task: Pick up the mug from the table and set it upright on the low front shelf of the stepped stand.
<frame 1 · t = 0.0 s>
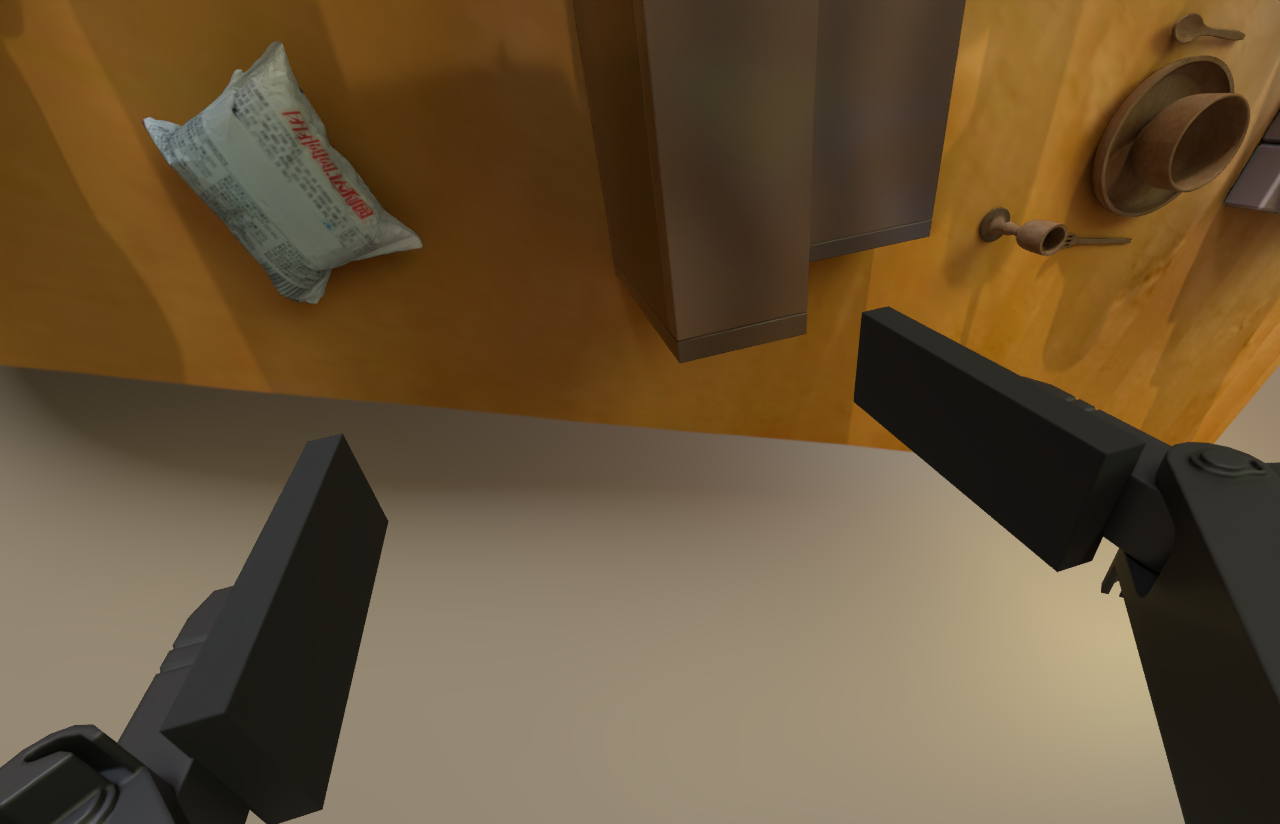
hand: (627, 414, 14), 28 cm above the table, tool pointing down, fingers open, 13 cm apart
packaged food: (309, 181, 33), on the table
place setting: (1105, 141, 45), on the table
stepped stand: (747, 36, 35), on the table
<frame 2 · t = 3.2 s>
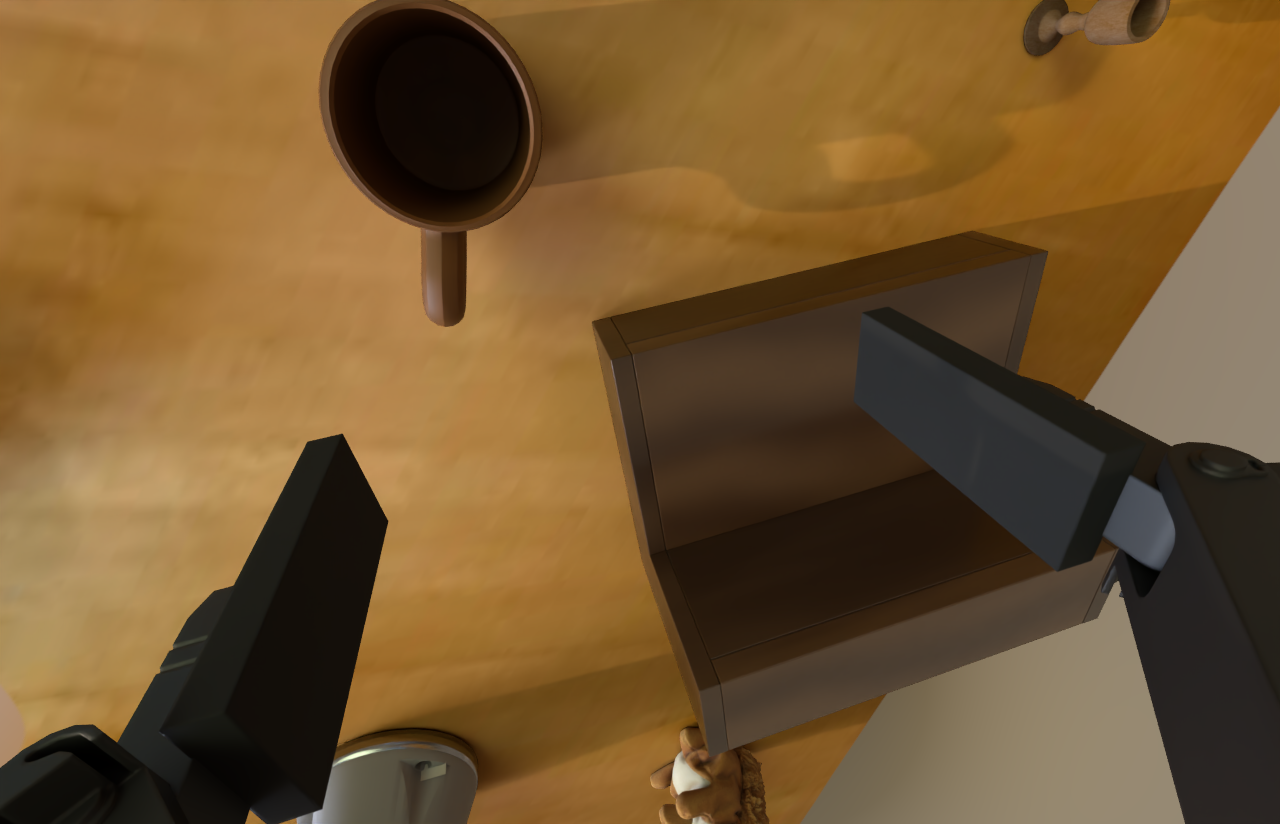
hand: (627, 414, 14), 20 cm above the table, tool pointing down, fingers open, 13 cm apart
mug: (451, 165, 28), on the table
stuffed squirrel: (704, 752, 64), on the table
stepped stand: (791, 412, 41), on the table
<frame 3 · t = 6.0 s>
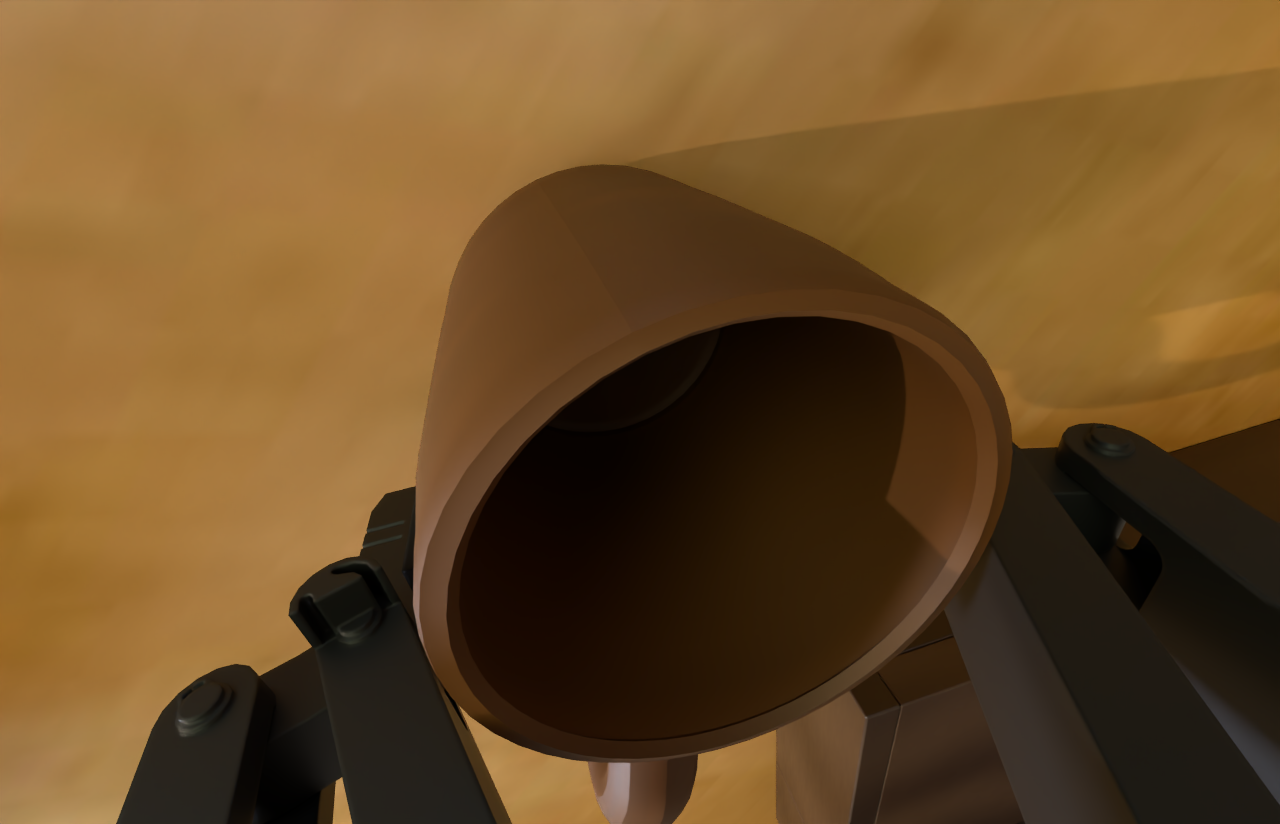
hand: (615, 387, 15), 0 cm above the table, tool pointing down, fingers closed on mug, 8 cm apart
mug: (590, 386, 15), on the table, touching gripper
stepped stand: (1008, 639, 29), on the table
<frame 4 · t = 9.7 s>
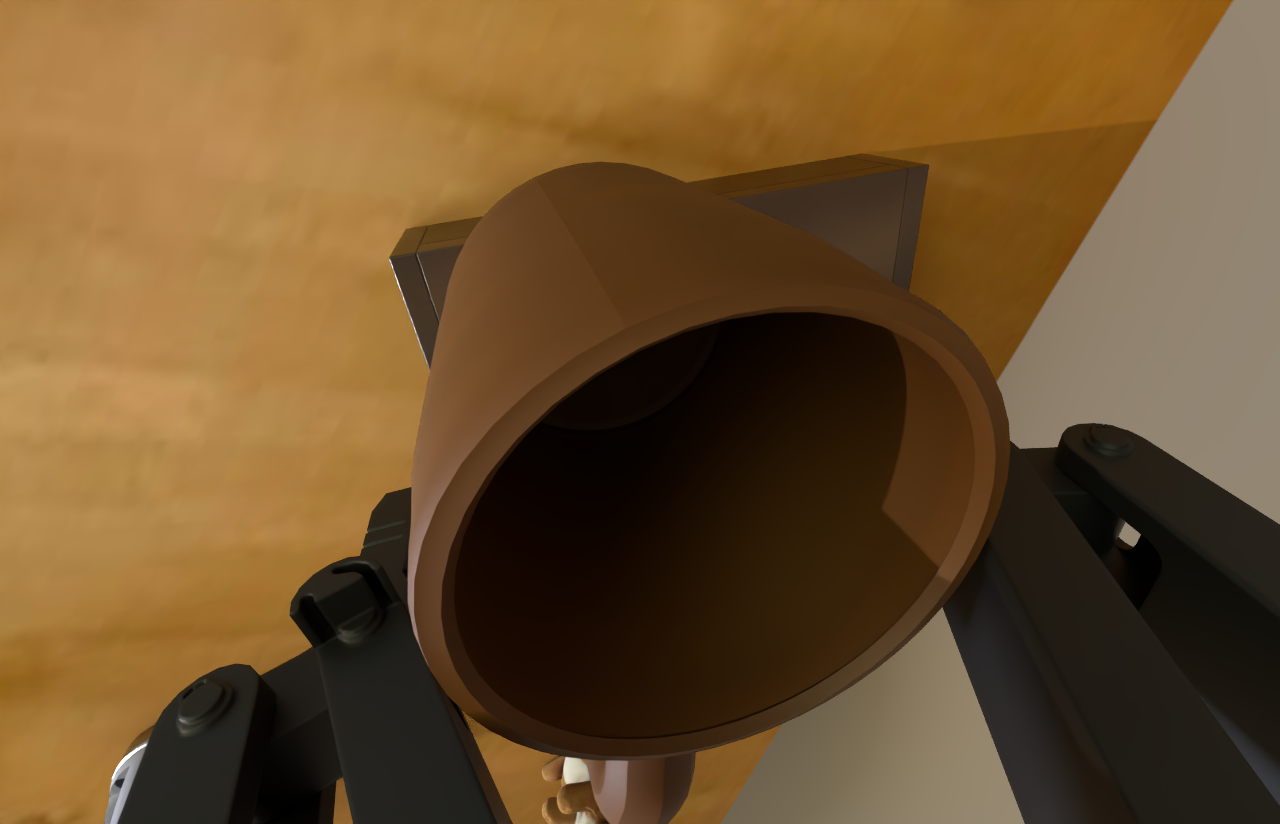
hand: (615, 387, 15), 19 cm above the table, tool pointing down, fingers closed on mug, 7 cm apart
mug: (589, 385, 15), point 18 cm above the table, touching gripper
stuffed squirrel: (604, 743, 59), on the table
stepped stand: (664, 359, 37), on the table
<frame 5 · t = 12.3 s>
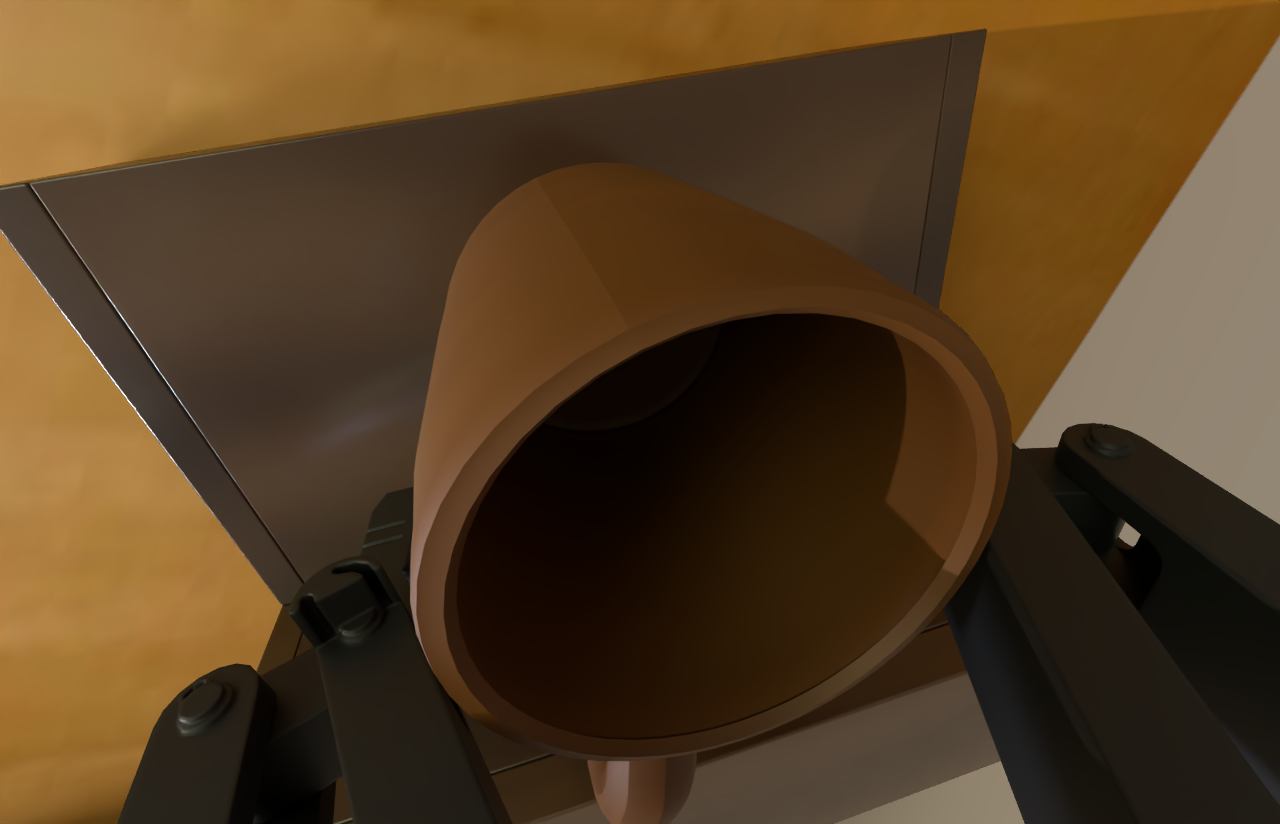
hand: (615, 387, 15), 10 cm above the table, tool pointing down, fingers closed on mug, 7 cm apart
mug: (590, 385, 15), point 9 cm above the table, touching gripper
stepped stand: (585, 366, 25), on the table
when the fingers open (6 cm above the table, at t = 13.7 s): mug stays where it is, resting on stepped stand.
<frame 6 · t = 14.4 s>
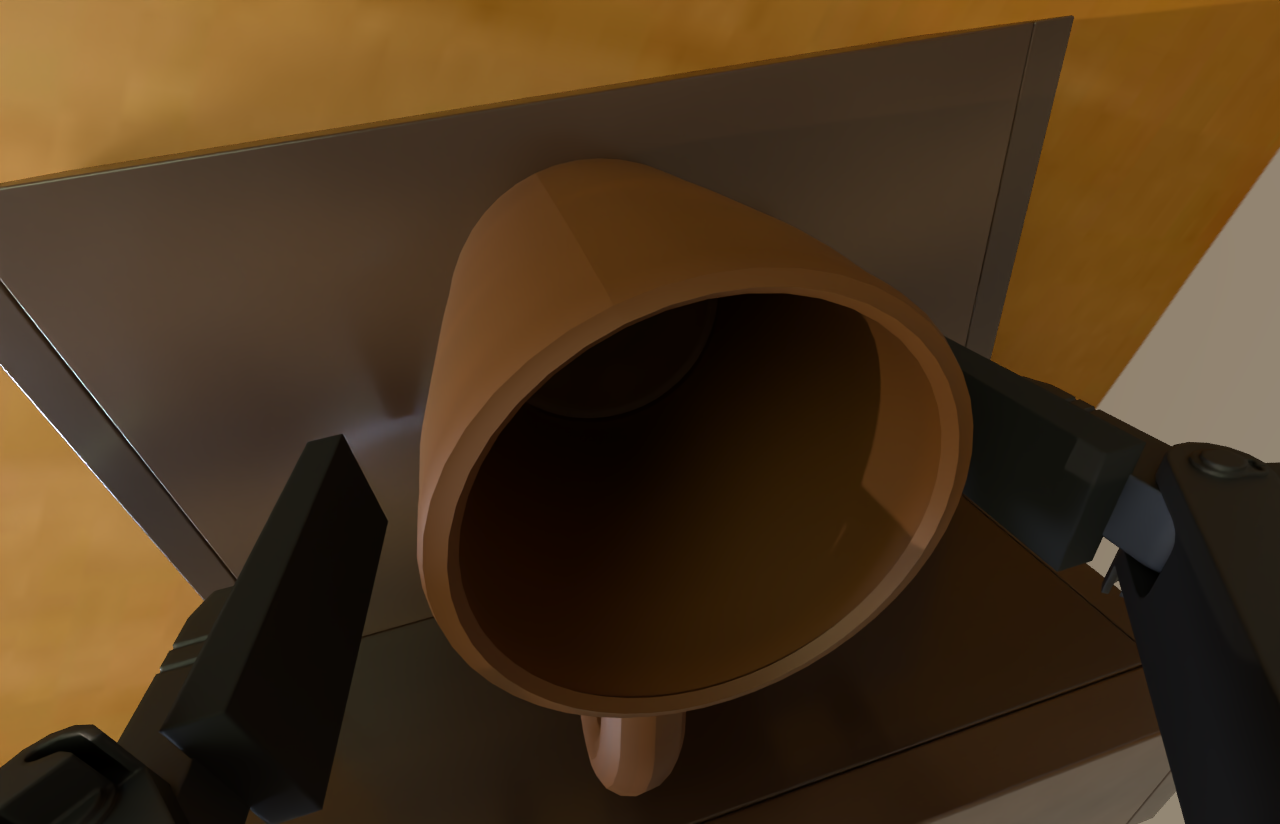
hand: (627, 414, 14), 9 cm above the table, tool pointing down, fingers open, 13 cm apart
mug: (588, 374, 16), point 6 cm above the table, touching stepped stand
stepped stand: (597, 391, 23), on the table
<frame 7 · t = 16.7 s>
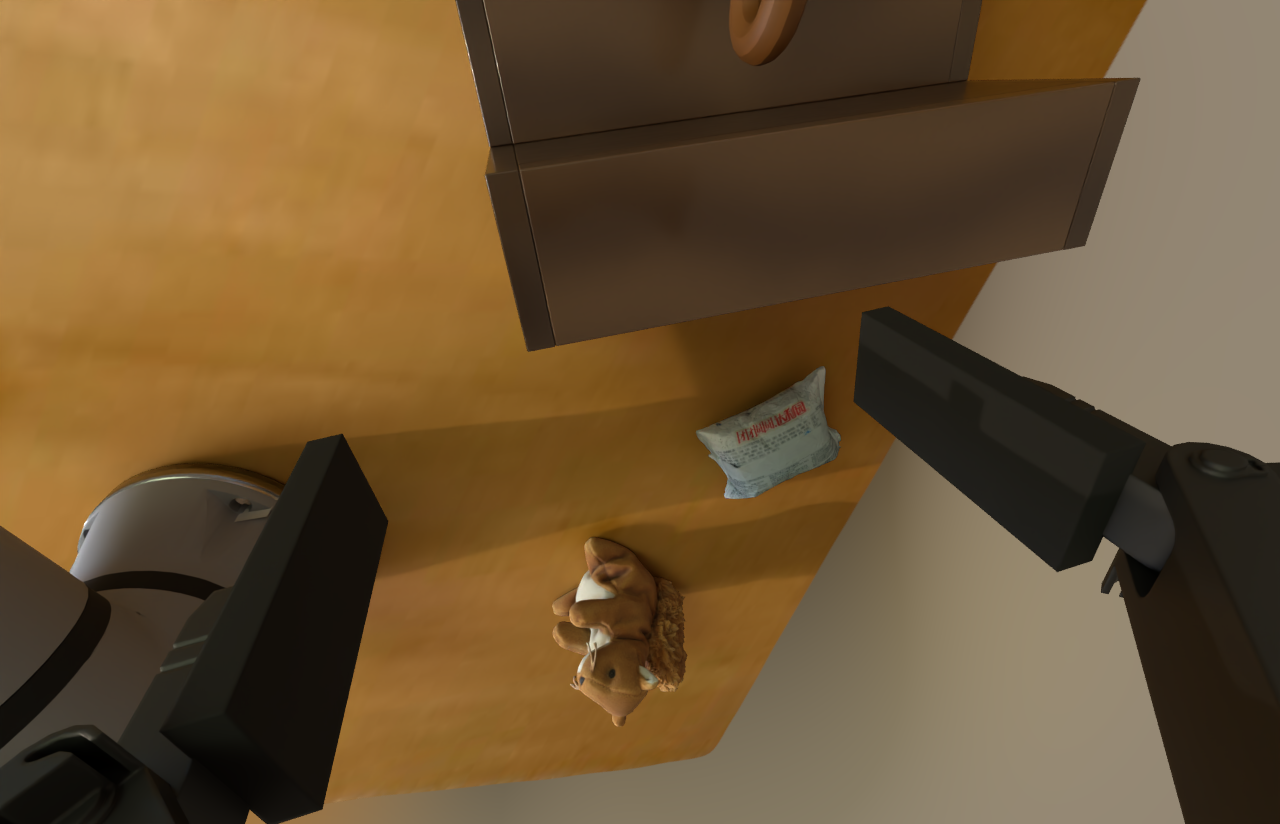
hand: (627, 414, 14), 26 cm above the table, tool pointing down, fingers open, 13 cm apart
packaged food: (760, 421, 48), on the table
stuffed squirrel: (619, 582, 55), on the table
stepped stand: (704, 31, 32), on the table
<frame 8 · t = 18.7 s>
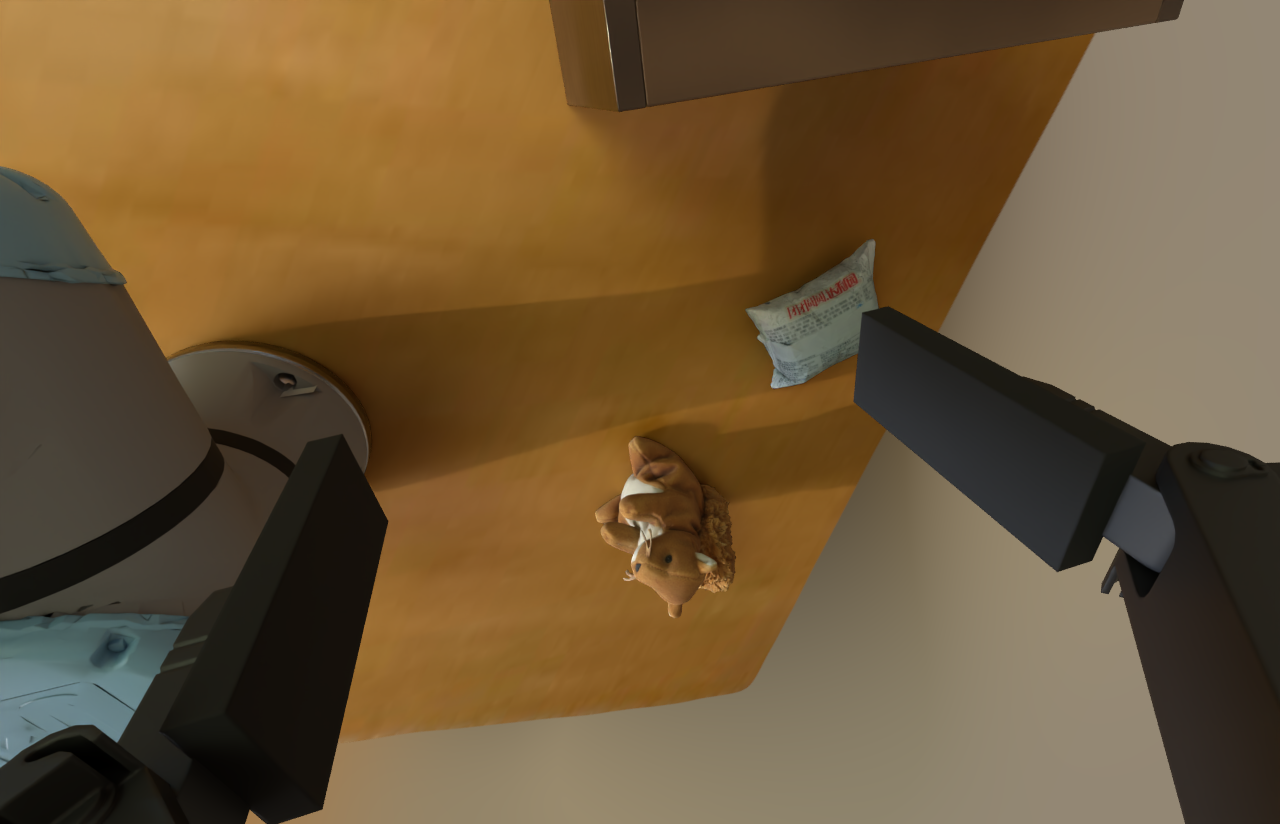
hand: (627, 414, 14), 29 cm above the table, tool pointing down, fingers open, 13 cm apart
packaged food: (805, 307, 47), on the table
stuffed squirrel: (661, 490, 54), on the table
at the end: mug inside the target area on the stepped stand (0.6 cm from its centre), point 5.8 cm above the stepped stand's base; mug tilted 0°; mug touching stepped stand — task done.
